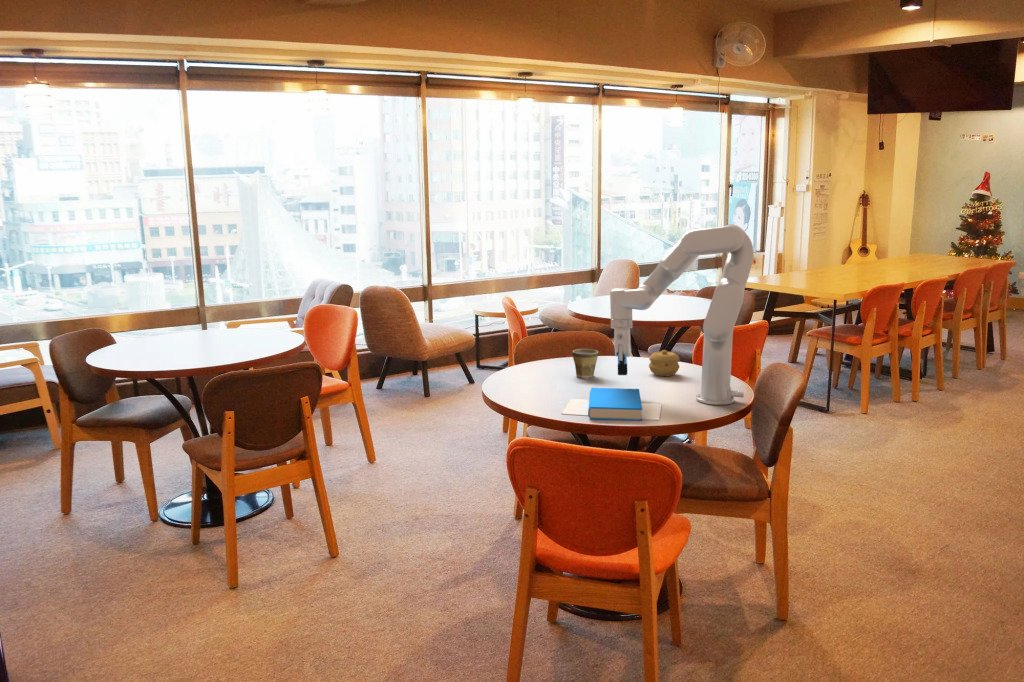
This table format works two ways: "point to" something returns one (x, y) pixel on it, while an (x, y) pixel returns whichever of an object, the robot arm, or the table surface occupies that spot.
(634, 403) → the book
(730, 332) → the robot arm
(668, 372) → the pot
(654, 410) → the mat
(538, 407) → the table surface
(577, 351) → the ceramic cup
